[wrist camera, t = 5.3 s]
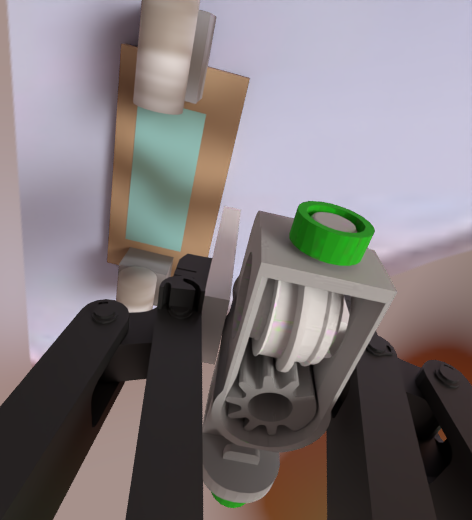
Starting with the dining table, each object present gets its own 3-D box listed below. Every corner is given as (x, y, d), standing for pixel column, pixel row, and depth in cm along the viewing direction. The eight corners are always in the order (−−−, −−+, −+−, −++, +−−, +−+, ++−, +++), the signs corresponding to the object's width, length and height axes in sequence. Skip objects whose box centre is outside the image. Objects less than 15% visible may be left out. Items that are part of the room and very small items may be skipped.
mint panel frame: (130, -17, 24) (85, -39, 18) (263, 21, 24) (263, 13, 18) (110, 269, 35) (78, 315, 29) (199, 290, 36) (187, 339, 30)
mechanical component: (216, 310, 20) (183, 507, 12) (263, 120, 15) (264, 223, 6) (268, 321, 20) (273, 523, 12) (332, 137, 15) (425, 259, 6)
